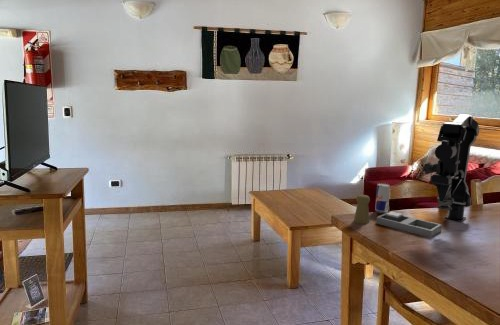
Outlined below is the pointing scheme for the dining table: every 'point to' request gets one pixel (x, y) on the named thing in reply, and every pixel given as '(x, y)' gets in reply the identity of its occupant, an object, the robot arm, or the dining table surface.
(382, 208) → the energy drink
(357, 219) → the olive pepper mill
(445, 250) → the dining table surface
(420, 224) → the socket strip
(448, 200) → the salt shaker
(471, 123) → the robot arm
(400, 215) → the plugged module
